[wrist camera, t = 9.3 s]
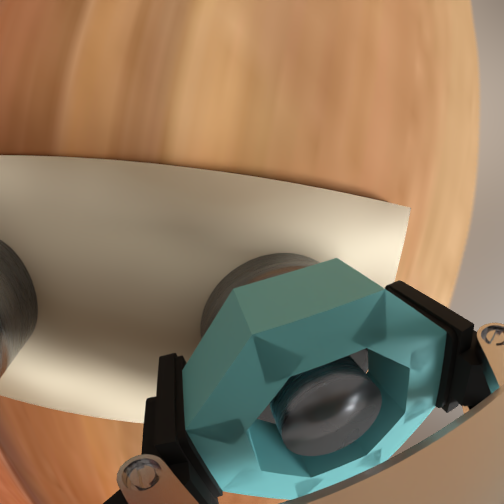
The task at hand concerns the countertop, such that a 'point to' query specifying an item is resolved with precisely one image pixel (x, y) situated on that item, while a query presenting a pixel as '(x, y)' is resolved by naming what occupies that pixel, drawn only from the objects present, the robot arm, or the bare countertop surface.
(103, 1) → the countertop surface
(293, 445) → the knob
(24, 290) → the stand
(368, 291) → the teal octagonal collar
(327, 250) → the base board
